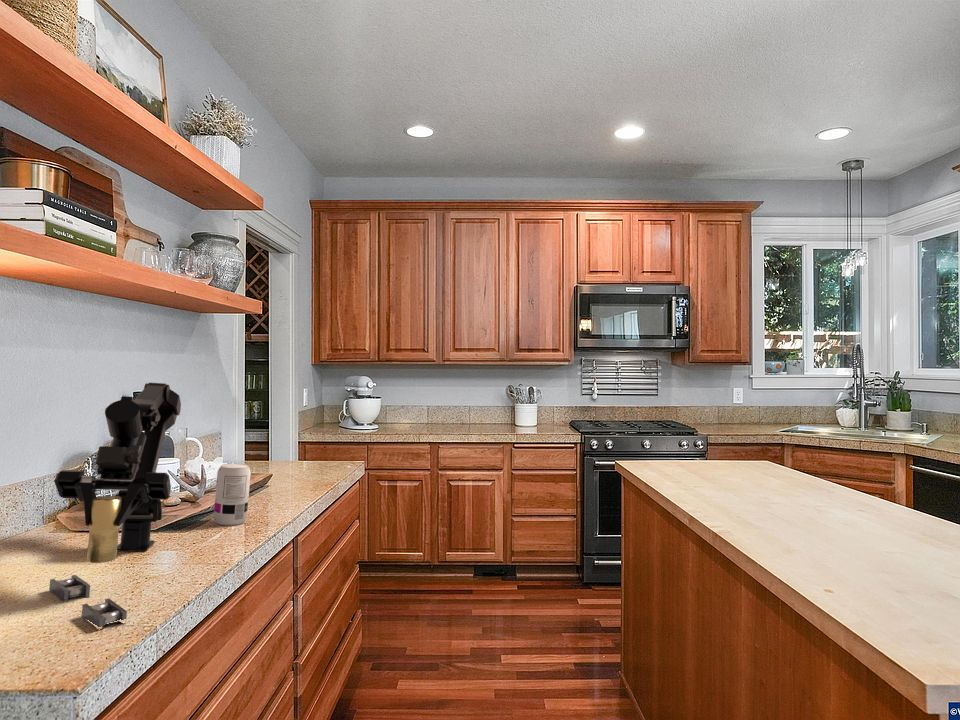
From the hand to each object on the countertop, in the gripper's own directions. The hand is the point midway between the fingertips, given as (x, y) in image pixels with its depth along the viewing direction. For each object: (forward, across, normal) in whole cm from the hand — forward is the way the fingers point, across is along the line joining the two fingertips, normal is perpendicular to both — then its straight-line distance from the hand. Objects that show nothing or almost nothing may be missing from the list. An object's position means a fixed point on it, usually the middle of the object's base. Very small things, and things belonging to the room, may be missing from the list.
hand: (102, 524), depth 110 cm
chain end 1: (+9, -4, +9) cm, 13 cm away
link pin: (+4, 0, +6) cm, 7 cm away
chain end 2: (+17, +4, 0) cm, 18 cm away
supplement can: (-26, +17, +44) cm, 54 cm away
